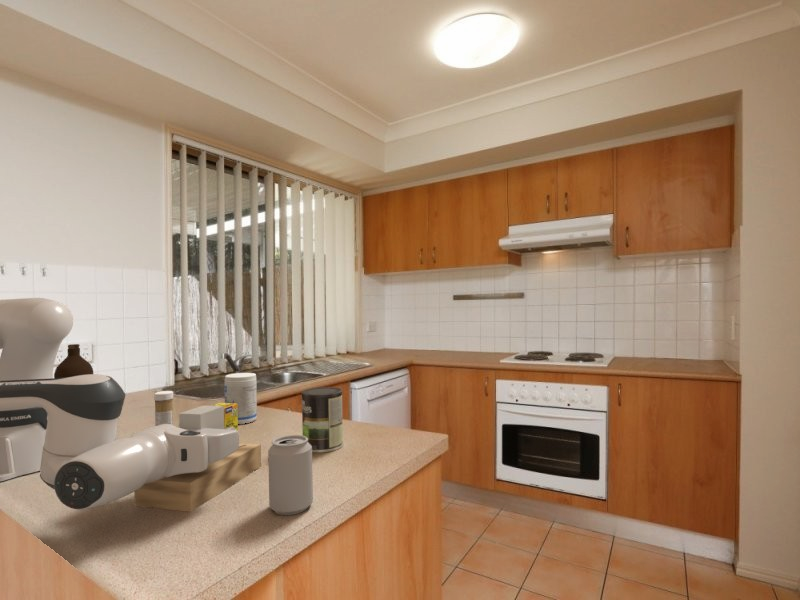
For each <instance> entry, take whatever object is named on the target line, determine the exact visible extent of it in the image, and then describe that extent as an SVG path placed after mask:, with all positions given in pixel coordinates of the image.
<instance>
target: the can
mask: <svg viewBox="0 0 800 600" xmlns="http://www.w3.org/2000/svg"><path fill="white" fill-rule="evenodd" d="M307 441H308V438H307V437H305V436H303V434H302V435H301V434H300V435H299V434H291V435H289V434H288V435H283V436H279V437H276V438H275V439H273V440H272V441H271V444H272V445H271V446H270V448H269V449H268V451H267V455H268V456H267V457H268V459H267V460H268V465H267V466H268V467H267V468H268V498H269V499H268V505H269V508H270V509H271V510H272V511H274V512H275V514H277V515H280V516H281V515H283V516H285V515H286V516H288V515H289V516H291V515H297V514H300V513H302V512H304V511H305V510H307V509H308V508H309V506H310V505H311V504H312V503H313V501H314V481H313V480H314V479H313V452H312V446H311V445H310V444H309V443H308V442H307Z"/></svg>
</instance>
